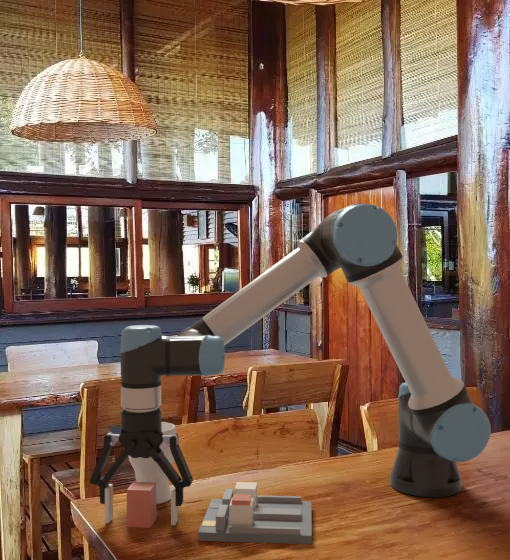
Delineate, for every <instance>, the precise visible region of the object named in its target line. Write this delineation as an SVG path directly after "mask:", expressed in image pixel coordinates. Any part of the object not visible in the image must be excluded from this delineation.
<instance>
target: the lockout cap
mask: <svg viewBox="0 0 510 560" xmlns="http://www.w3.org/2000/svg"><path fill="white" fill-rule="evenodd" d="M156 519H157V504H156V483H154V482H136V481H132V483H131V484H130V485H129V486H128V488H127V489H126V527H127V528H143V529H144V528H148V529H149V528H152V526H153V525H154V523H155V521H156Z"/></svg>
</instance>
